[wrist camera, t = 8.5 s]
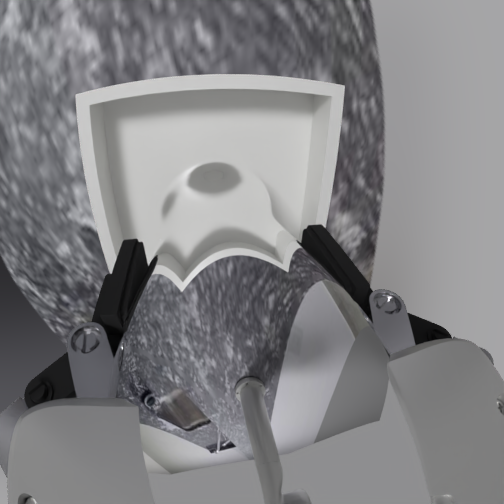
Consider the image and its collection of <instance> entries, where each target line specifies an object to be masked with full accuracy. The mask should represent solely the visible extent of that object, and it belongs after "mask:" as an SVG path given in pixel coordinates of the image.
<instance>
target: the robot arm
mask: <svg viewBox="0 0 504 504" xmlns="http://www.w3.org/2000/svg"><path fill="white" fill-rule="evenodd" d="M301 244H303V245H304V246H305V247H306V248H307V249H308V250H309V251H310V252H311V253H312V254H313V255H314V256H315V257H316V258H317V259H318V260H319V261H320V262H322V263H323V264H324V265H325V266H326V267H327V268H328V269H329V270H330V271H331V273H332V274H333V275H334V276H335V277H336V278H337V279H338V280H339V281H340V283H341V284H342V285H343V286H344V287H345V288H346V289H347V290H348V292H349V293H350V294H351V295H352V296H353V297H354V298H355V299H356V301H357V302H358V303H359V304H360V306H361V307H362V309H363V310H364V312H365V313H366V314H367V316H368V317H369V319H370V320H371V322H372V323H373V325H374V326H375V328H376V329H377V331H378V332H379V334H380V335H381V337H382V338H383V340H384V341H385V343H386V344H387V346H388V347H389V349H390V351H391V353H392V354H391V355H390V358H389V361H388V364H389V367H390V369H391V371H392V373H393V375H394V377H395V379H396V381H397V383H398V386H399V388H400V390H401V392H402V395H403V398H404V401H405V403H406V406H407V409H408V412H409V415H410V417H411V420H412V423H413V426H414V429H415V432H416V435H417V438H418V441H419V444H420V448H421V452H422V456H423V461H424V465H425V470H426V474H427V479H428V484H429V489H430V494H431V496H436V500H437V504H504V381H503V379H502V378H501V376H500V374H499V373H498V371H497V370H496V368H495V367H494V364H493V358H492V356H491V355H490V353H489V352H488V351H486V350H485V349H482V348H480V347H478V346H477V345H476V344H474V343H472V342H471V341H467V340H464V339H458V338H455V337H453V339H452V337H451V335H450V334H449V332H448V331H447V330H446V329H445V328H443V327H441V326H439V325H437V324H435V323H432V322H429V321H427V320H425V319H422V318H419V317H417V316H415V315H412V314H410V313H407V310H406V307H405V304H404V302H403V300H402V299H401V298H400V296H398V295H397V294H396V293H394V292H391V291H389V290H385V289H383V290H382V289H379V290H375V291H374V292H373V291H372V289H371V288H370V284H369V283H368V282H367V280H366V279H365V278H364V276H363V275H362V274H361V272H360V271H359V270H358V269H357V267H356V266H355V265H354V263H353V262H352V261H351V260H350V258H349V257H348V256H347V254H346V253H345V252H344V251H343V249H342V248H341V247H340V246H339V244H338V243H337V242H336V241H335V240H334V238H333V237H332V236H331V235H330V233H329V232H328V231H327V230H326V229H325V227H324V226H323V225H322V224H318V225H308V226H307V229H304V230H303V233H302V240H301ZM147 268H148V263H147V258H146V254H145V249H144V244H143V242H139V241H138V239H127V240H123V242H122V244H121V247H120V250H119V253H118V256H117V259H116V262H115V265H114V268H113V271H112V274H107V275H106V276H105V279H104V282H103V285H102V288H101V291H100V294H99V298H98V301H97V304H96V308H95V311H94V315H93V319H92V322H87V323H82V324H80V325H78V326H77V327H76V328H74V329H73V330H72V331H71V333H70V334H69V336H68V339H67V351H68V352H67V353H66V354H64V355H63V356H62V357H60V358H59V359H58V360H57V361H55V362H54V363H53V364H51V365H50V366H49V367H48V368H46V369H45V370H44V371H43V372H41V373H40V374H39V375H38V376H36V377H35V378H34V379H32V380H31V382H30V383H29V384H28V386H27V387H26V390H25V398H24V399H22V398H20V397H19V398H18V399H17V400H16V401H15V402H13V403H12V404H11V405H10V406H9V407H8V408H6V409H5V410H4V411H3V412H2V413H1V414H0V465H1V467H2V469H3V471H4V473H5V475H6V477H7V488H8V504H155V502H154V498H153V494H152V490H151V487H150V483H149V478H148V474H147V470H146V465H145V460H144V455H143V450H142V444H141V436H140V422H139V408H138V406H136V405H134V404H131V403H129V402H127V401H125V400H123V399H121V398H108V394H109V387H110V380H111V374H112V368H113V362H114V356H115V351H116V347H117V344H118V341H119V337H120V334H121V331H122V328H123V325H124V322H125V319H126V316H127V314H128V311H129V308H130V305H131V303H132V301H133V298H134V296H135V294H136V292H137V289H138V287H139V285H140V283H141V281H142V278H143V276H144V274H145V272H146V270H147Z"/></svg>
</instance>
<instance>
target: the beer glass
mask: <svg viewBox="0 0 504 504" xmlns="http://www.w3.org/2000/svg"><path fill="white" fill-rule="evenodd" d="M158 218H159V226H160V232H161V239H160V243H159V246H158V248H157V250H156V252H155V254H154V256H153V258H152V260H151V262H150V264H149V266H148V268H147V270H146V272H145V274H144V276H143V278H142V281H141V283H140V285H139V287H138V289H137V292H136V294H135V296H134V298H133V301H132V303H131V305H130V308H129V311H128V314H127V316H126V319H125V322H124V325H123V328H122V331H121V334H120V337H119V341H118V344H117V347H116V351H115V356H114V362H113V368H112V374H111V380H110V387H109V394H108V398H121V399H123V400H125V401H127V402H129V403H131V404H134V405H136V406H138V408H139V422H140V436H141V444H142V450H143V455H144V460H145V465H146V470H147V474H148V478H149V483H150V487H151V490H152V494H153V498H154V502H155V504H437V500H436V496H431V494H430V489H429V484H428V479H427V474H426V470H425V465H424V461H423V456H422V452H421V448H420V444H419V441H418V438H417V435H416V432H415V429H414V426H413V423H412V420H411V417H410V415H409V412H408V409H407V406H406V403H405V401H404V398H403V395H402V392H401V390H400V388H399V386H398V383H397V381H396V379H395V377H394V375H393V373H392V371H391V369H390V367H389V364H388V361H389V358H390V355H391V354H392V353H391V351H390V349H389V347H388V346H387V344H386V343H385V341H384V340H383V338H382V337H381V335H380V334H379V332H378V331H377V329H376V328H375V326H374V325H373V323H372V322H371V320H370V319H369V317H368V316H367V314H366V313H365V312H364V310H363V309H362V307H361V306H360V304H359V303H358V302H357V301H356V299H355V298H354V297H353V296H352V295H351V294H350V293H349V292H348V290H347V289H346V288H345V287H344V286H343V285H342V284H341V283H340V281H339V280H338V279H337V278H336V277H335V276H334V275H333V274H332V273H331V271H330V270H329V269H328V268H327V267H326V266H325V265H324V264H323V263H322V262H320V261H319V260H318V259H317V258H316V257H315V256H314V255H313V254H312V253H311V252H310V251H309V250H308V249H307V248H306V247H305V246H304V245H303V244H301V243H300V242H299V241H298V240H297V239H296V238H295V237H294V236H293V235H291V234H290V233H289V232H288V231H287V230H286V229H285V228H284V227H283V226H282V225H281V224H280V223H279V222H278V221H277V220H276V218H275V217H274V215H273V210H272V203H271V199H270V195H269V193H268V190H267V188H266V186H265V185H264V183H263V182H262V180H261V179H260V178H259V177H258V176H257V175H256V174H255V173H254V172H253V171H251V170H250V169H248V168H246V167H245V166H243V165H240V164H238V163H235V162H231V161H226V160H209V161H204V162H200V163H197V164H194V165H192V166H190V167H188V168H186V169H184V170H183V171H181V172H180V173H179V174H178V175H176V176H175V177H174V178H173V179H172V180H171V182H170V183H169V184H168V186H167V187H166V189H165V191H164V193H163V195H162V197H161V200H160V204H159V212H158Z"/></svg>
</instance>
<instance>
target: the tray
mask: <svg viewBox="0 0 504 504" xmlns="http://www.w3.org/2000/svg"><path fill="white" fill-rule="evenodd" d="M344 90H345V86H344V85H338V84H333V83H327V82H321V81H314V80H307V79H299V78H290V77H280V76H266V75H245V74H211V75H189V76H176V77H166V78H157V79H149V80H142V81H135V82H129V83H124V84H118V85H113V86H109V87H104V88H99V89H95V90H91V91H87V92H83V93H80V94H76V109H77V121H78V131H79V140H80V147H81V154H82V161H83V167H84V173H85V178H86V184H87V189H88V193H89V198H90V203H91V207H92V211H93V216H94V220H95V224H96V227H97V231H98V235H99V238H100V242H101V245H102V249H103V252H104V256H105V259H106V262H107V265H108V268H109V271H110V274H112V271H113V268H114V265H115V262H116V259H117V256H118V253H119V250H120V247H121V244H122V242H123V240H127V239H138V241H139V242H143V244H144V249H145V254H146V258H147V263H148V266H149V264H150V262H151V260H152V258H153V256H154V254H155V252H156V250H157V248H158V246H159V243H160V239H161V232H160V226H159V218H158V212H159V204H160V200H161V197H162V195H163V193H164V191H165V189H166V187H167V186H168V184H169V183H170V182H171V180H172V179H173V178H174V177H175V176H176V175H178V174H179V173H180V172H181V171H183V170H184V169H186V168H188V167H190V166H192V165H194V164H197V163H200V162H204V161H209V160H226V161H231V162H235V163H238V164H240V165H243V166H245V167H246V168H248V169H250V170H251V171H253V172H254V173H255V174H256V175H257V176H258V177H259V178H260V179H261V180H262V182H263V183H264V185H265V186H266V188H267V190H268V193H269V195H270V199H271V203H272V210H273V215H274V217H275V218H276V220H277V221H278V222H279V223H280V224H281V225H282V226H283V227H284V228H285V229H286V230H287V231H288V232H289V233H290V234H291V235H293V236H294V237H295V238H296V239H297V240H298V241H299V242H300V243H301V240H302V233H303V230H304V229H307V226H308V225H318V224H322V225H323V226H324V227H325V228H326V222H327V217H328V211H329V206H330V200H331V194H332V187H333V181H334V175H335V168H336V161H337V154H338V146H339V138H340V130H341V121H342V111H343V101H344Z"/></svg>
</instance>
